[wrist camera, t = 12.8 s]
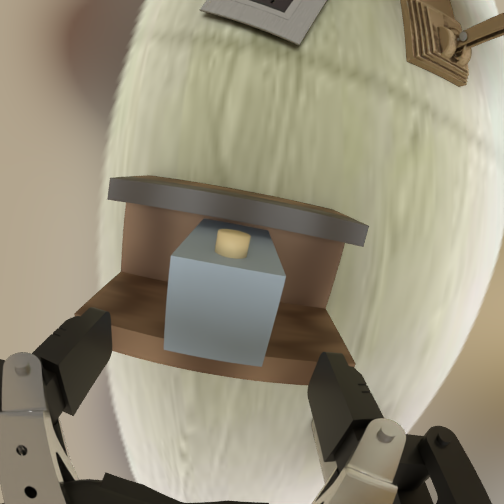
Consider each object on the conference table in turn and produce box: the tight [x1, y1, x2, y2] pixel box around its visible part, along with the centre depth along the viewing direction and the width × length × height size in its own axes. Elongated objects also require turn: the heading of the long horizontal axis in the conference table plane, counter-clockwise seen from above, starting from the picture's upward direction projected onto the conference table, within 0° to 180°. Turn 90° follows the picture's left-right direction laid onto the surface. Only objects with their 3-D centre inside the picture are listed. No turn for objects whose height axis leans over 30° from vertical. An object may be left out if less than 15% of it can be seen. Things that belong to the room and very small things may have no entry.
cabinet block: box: [164, 218, 286, 367], centre depth 17 cm, size 5×6×10 cm
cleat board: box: [75, 175, 369, 385], centre depth 21 cm, size 18×10×13 cm, turn 79°
